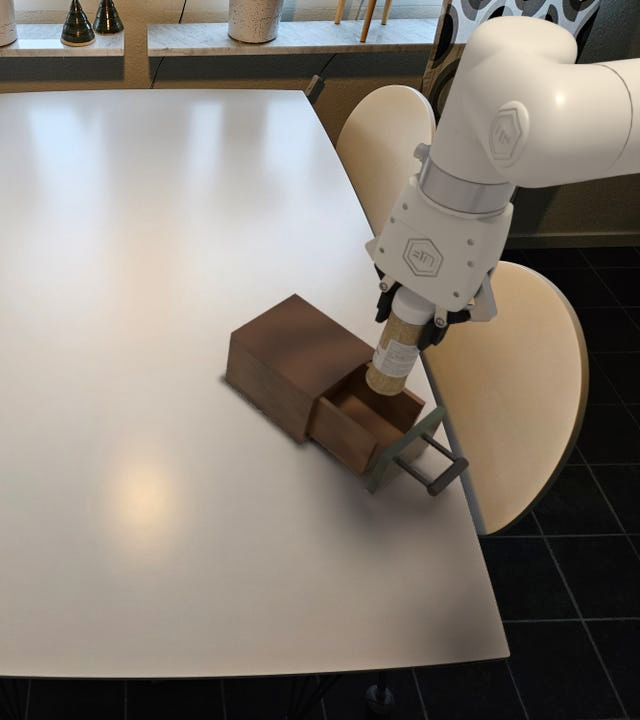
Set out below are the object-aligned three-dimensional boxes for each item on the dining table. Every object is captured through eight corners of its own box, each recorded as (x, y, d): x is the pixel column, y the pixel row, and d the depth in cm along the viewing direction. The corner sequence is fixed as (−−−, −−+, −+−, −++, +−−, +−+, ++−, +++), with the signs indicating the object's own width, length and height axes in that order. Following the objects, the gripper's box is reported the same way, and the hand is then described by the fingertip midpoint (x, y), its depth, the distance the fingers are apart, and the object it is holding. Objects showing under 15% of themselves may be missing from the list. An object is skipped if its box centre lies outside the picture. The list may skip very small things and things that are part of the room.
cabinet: (361, 397, 91) (378, 351, 84) (300, 444, 86) (313, 399, 78) (285, 340, 99) (295, 292, 91) (224, 379, 93) (230, 332, 86)
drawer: (466, 476, 81) (489, 440, 76) (411, 528, 76) (432, 494, 71) (346, 385, 91) (359, 348, 86) (291, 427, 86) (301, 389, 81)
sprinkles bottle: (369, 362, 77) (401, 276, 67) (408, 375, 76) (446, 289, 66) (360, 389, 74) (391, 303, 64) (400, 403, 73) (438, 317, 63)
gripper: (360, 153, 58) (321, 303, 71) (537, 244, 49) (455, 395, 63) (410, 127, 61) (364, 275, 75) (585, 208, 52) (497, 359, 66)
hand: (406, 329), depth 68 cm, fingers closed on sprinkles bottle, 4 cm apart
